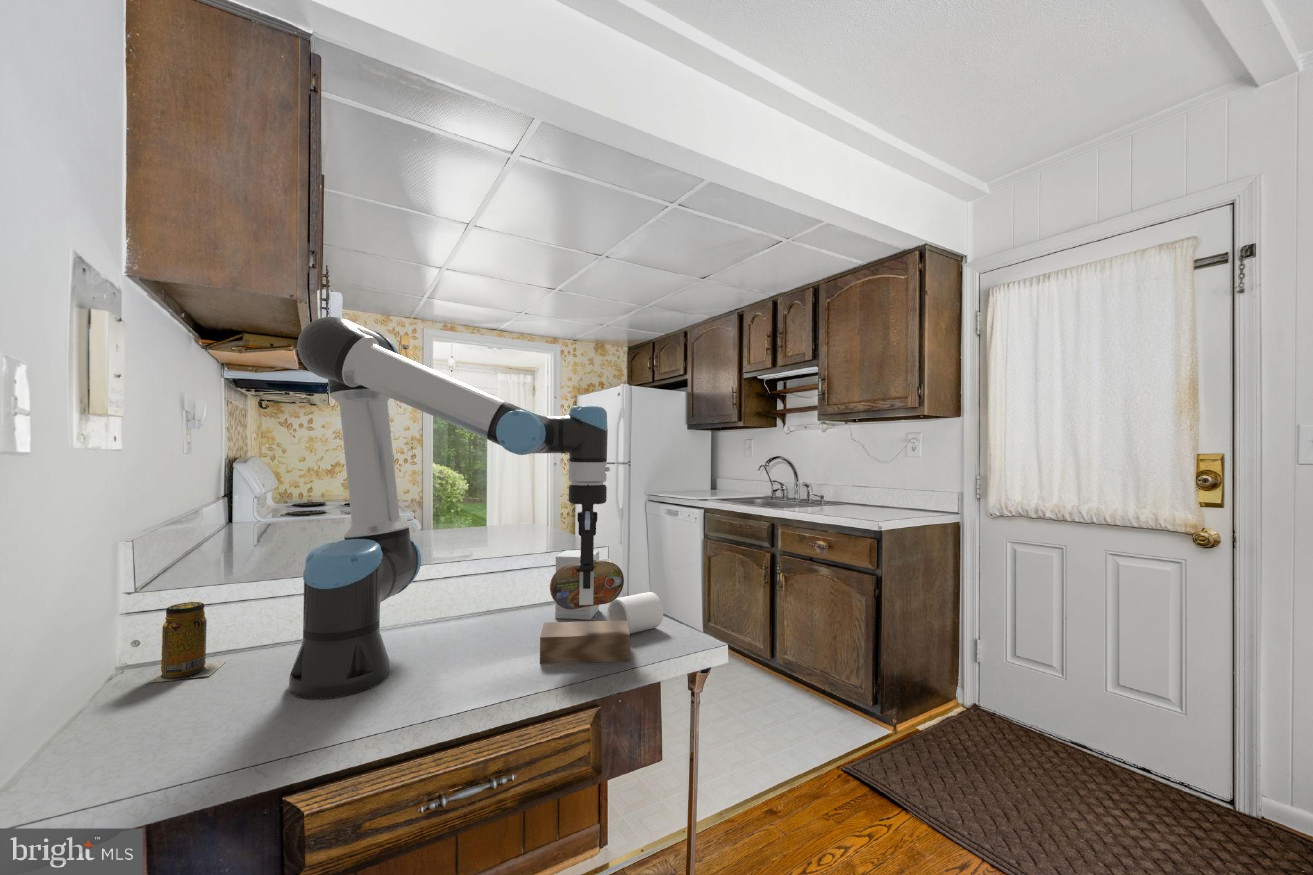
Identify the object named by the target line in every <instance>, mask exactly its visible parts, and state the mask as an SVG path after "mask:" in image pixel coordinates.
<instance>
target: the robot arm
mask: <svg viewBox="0 0 1313 875" xmlns="http://www.w3.org/2000/svg"><path fill="white" fill-rule="evenodd" d="M296 348H297V353H298V356H299V359H300V361H301V363H302V365H304V367H305V368H306V369H307V370H308V371H310V372H311V373H312V374H314V375H315V376H318V377H320V378H322V379H326V380H327V384H328V391H329V392H328V393H329V398H331V399H332V400H334V401H335V402H337V403H338V405H339V412H340V414H339V415H340V422H341V430H342V441H343V450H344V460H345V469H346V480H347V489H348V498H349V500H348V501H349V508H350V518H351V526H350V527H349V529H348V530H347V531H346V532H345V533H344V535H343V540H338V541H336V542H334V541H333V542H328V543H324V544H322V545H319V546H318V547H317V546H316V548H314V549H312V550H311V551H310V552H309V553H308V554H307V556H306V558H305V565H304V569H303V573H302V574H303V575H302V578H303V613H302V614H303V616H302V617H303V619H302V620H303V622H302V624H303V625H302V629H303V630H302V642H301V645H300V648H299V650H298V652H297V654H296V657H295V660H294V662H293V666H292V668H291V671H290V674H289V678H288V679H289V680H288V681H289V684H288V690H289V693H290V694H291V695H294V696H295V697H298V698H302V699H308V700H309V699H310V700H312V699H315V700H318V699H319V700H320V699H333V698H339V697H344V696H349V695H353V694H356V693H361V692H363V691H367V690H369V689H371V688H373V687H375V686H377V685H379V684H381V683H382V682H384V681H385V680H386V679H387V678H388V677H389V675H390V664H391V662H390V657H389V655H388V651H387V649H386V646H385V643H384V640H383V637H382V634H381V630H380V625H381V624H380V623H381V622H380V616H381V615H380V614H381V603H382V602H384V601H386V600H387V599H389V598H391V597H393V596H396V595H397V594H400V593H402V592H403V591H404V590H406V589H407V587H409V586H410V585H411V583H413V582H414V580H415V579H416V578H417V576H418V574H419V572H420V569H421V564H422V554H421V551H420V549H419V546H418V544H417V543H416V542H415V541H414V540H413V539H412V538H411V532H410V526H409V524H407V523H406V522H405V521H403V520H402V518H400V515H401V514H400V506H399V498H398V497H399V496H398V487H397V480H396V479H397V478H396V470H395V461H394V449H393V441H392V432H391V423H390V422H391V421H390V414H389V404H388V403H389V400H390V399H393V400H395V401H397V402H400V403H402V404H404V405H406V406H409V407H411V408H414V409H416V410H418V411H421V412H423V413H425V414H428V415H430V416H433V417H435V418H436V419H439V420H442V421H444V422H446V423H449V424H451V425H453V426H456V427H457V428H460V429H462V430H464V431H467V432H469V433H471V434H474V435H476V436H479V437H481V438H483V439H485V440H488V441H490V442H492V443H494V444H496V445H498V446H500V447H502V448H504V449H505V450H506V451H508V452H510V453H512V454H514V455H518V456H524V455H529V454H569V455H568V456H569V461H568V482H570V483H571V484H570V485H569V486H568V502H569V503H570V504H572V505H573V504H574V505H581V511H578V512H577V516H576V517H577V523H578V531H577V532H578V535H579V536H580V551H581V556H580V558H581V560H580V563H581V565H580V568H579V569H577V572H580V588H579V605H593V587H594V565H593V562H596V560H593V551H595V550H594V545H595V544H594V541H595V540H594V538H595V537H594V536H596V534H597V522H598V511H594V506H595V505H602V504H606V502H607V498H608V497H607V496H608V495H607V494H608V493H607V490H608V488H607V486H606V484H604V483H606V482H607V473H606V472H610V471H611V469H610V468H611V467H610V466H607V464H608V462H607V461H608V438H609V437H608V435H609V434H608V431H609V429H608V412H607V410H606V409H605V408H604V407H602V406H599V405H598V406H597V405H596V406H595V405H574V406H572V407H571V408H570V410H569V413H568V415H561V416H559V415H540V414H538V413H537V414H536V413H534V412H531V411H529V410H527V409H524V408H521V407H519V406H518V405H516V404H513V403H511V402H510V403H509V402H507V401H505V400H503V399H501V398H499V397H497V396H495V395H492V394H490V393H487V392H485V391H482V390H480V389H478V388H476V387H474V386H471V385H469V384H466V383H465V382H462V381H459V380H458V379H455V378H454V377H450V376H448V375H446V374H443V373H441V372H439V371H437V370H434V369H432V368H429V367H427V366H425V365H423V364H421V363H418V362H416V361H414V360H411V359H409V358H407V357H405V356H403V355H400V353H399V351H398V349H397V348H396V346H395V345H394V344H393V343H392V341H391V340H390V339H389V338H387V337H386V336H385V335H383V334H381V333H380V332H378V331H376V330H374V329H369V328H367V327H364V326H362V325H360V324H357V323H355V322H353V321H351V320H348V319H345V318H343V317H342V318H341V317H340V316H338V317H337V316H324V317H320V318H317V319H315V320H313V321H311V322H308V324H307V325H305V326H304V327H303V328H302V330H301V331H300V333H299V336H298V339H297V344H296Z"/></svg>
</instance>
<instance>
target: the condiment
mask: <svg viewBox="0 0 1313 875" xmlns="http://www.w3.org/2000/svg"><path fill="white" fill-rule="evenodd" d="M165 615H166V616H165V622H164V623H163V625H162V630H161V634H162V635H161V636H162V637H161V638H162V639H161V642H162V643H161V660H160V663H161V667H160V670H161V673H160V674H159V675H158V676H156V677H155V678H153V679H152V680H150V681H149V683H159V682H169V681H170V682H171V681H177V680H183V679H196V678H197V679H198V678H201V677H209V676H211V675H212V674H214V673H215V672H216V671H218V670H219V669H220V667H221V666H223V665H224V664H225V663H226V661H218V662H217V661H216V662H213V661H212V662H206V659H207V657H206V656H207V654H206V653H207V627H208V626H207V622H208V621H207V617H206V613H205V603H203V602H201V601H189V602H182V603H176V604H173V605H169V606H168V607H167V608H166V610H165ZM221 668H222V667H221Z"/></svg>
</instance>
